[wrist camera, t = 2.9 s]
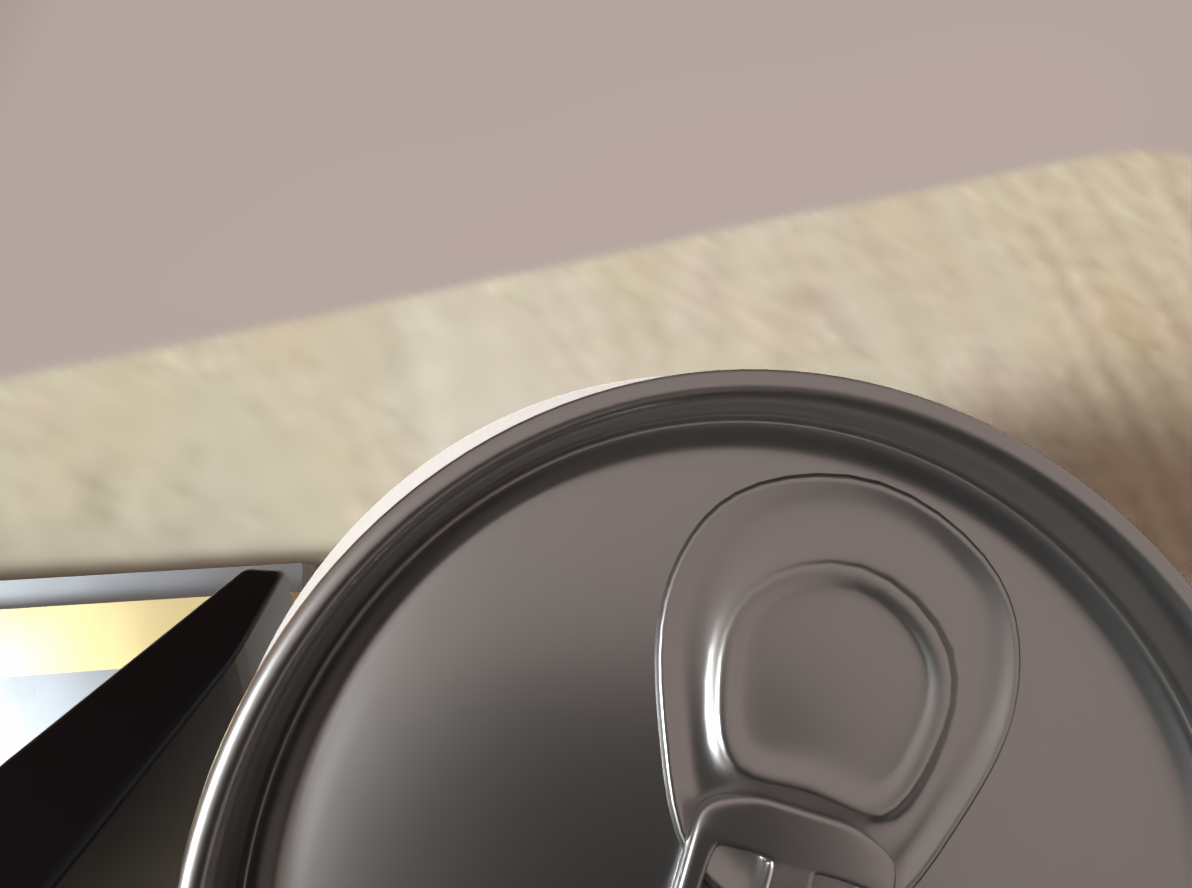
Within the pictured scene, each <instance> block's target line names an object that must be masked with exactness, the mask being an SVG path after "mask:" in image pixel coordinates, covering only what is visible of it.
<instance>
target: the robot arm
mask: <svg viewBox="0 0 1192 888" xmlns="http://www.w3.org/2000/svg"><path fill="white" fill-rule="evenodd" d="M292 605H293V603H292V597H291V591H290V584H289V579H288V577H287V575H286V573H285V572H284V571H281V570H275V569H258V568H250V569H246V570H244V571H242V572H241V573H239V574H238V575H237V576H236V577H234V578H233V579H232V580H231V581H229V582H228V583H227V584H226V585H224V586H223V587H222V588H221V589H219V590H218V591H217V592H216V593H214V594H213V595H212V596H211V597H209V598H208V599H207V600H206V601H204V602H203V603H202V604H201V605H200V606H198V607H197V608H196V609H195V610H193V611H192V612H191V613H190V614H188V615H187V616H186V617H185V618H183V619H182V620H181V621H180V622H178V623H177V624H176V625H175V626H173V627H172V628H171V629H170V630H168V631H167V632H166V633H165V634H163V635H162V636H161V637H160V638H158V639H157V640H156V641H155V642H153V643H152V644H151V645H150V646H149V647H147V648H146V649H145V650H144V651H142V652H141V653H140V654H139V655H137V656H136V657H135V658H134V659H132V660H131V661H130V662H129V663H127V664H126V665H125V666H124V667H122V668H121V669H120V670H119V671H117V672H116V673H115V674H114V675H112V676H111V677H110V678H109V679H107V680H106V681H105V682H104V683H102V684H101V685H100V686H99V687H97V688H96V689H95V690H94V691H93V692H91V693H90V694H89V695H88V696H86V697H85V698H84V699H83V700H81V701H80V702H79V703H78V704H76V705H75V706H74V707H73V708H71V709H70V710H69V711H68V712H66V713H65V714H64V715H63V716H61V717H60V718H59V719H58V720H56V721H55V722H54V723H53V724H51V725H50V726H49V727H48V728H46V729H45V730H44V731H43V732H42V733H40V734H39V735H38V736H37V737H35V738H34V739H33V740H32V741H30V742H29V743H28V744H27V745H25V746H24V747H23V748H22V749H20V750H19V751H18V752H17V753H15V754H14V755H13V756H12V757H10V758H9V759H8V760H7V761H5V762H4V763H3V764H2V765H0V888H176V886H177V881H178V876H179V872H180V867H181V863H182V859H183V855H184V851H185V847H186V843H187V839H188V835H189V832H190V828H191V825H192V822H193V819H194V815H195V812H196V809H197V806H198V802H199V799H200V797H201V794H202V791H203V788H204V785H205V783H206V780H207V777H208V774H209V771H210V769H211V766H212V764H213V761H214V759H215V757H216V754H217V752H218V749H219V747H220V744H221V742H222V740H223V737H224V735H225V733H226V731H227V729H228V727H229V725H230V722H231V720H232V718H233V716H234V714H235V712H236V710H237V708H238V706H239V704H240V702H241V700H242V698H243V696H244V694H245V692H246V690H247V688H248V687H249V685H250V683H251V681H252V679H253V678H254V676H255V674H256V672H257V670H258V668H259V666H260V663H261V661H262V659H263V657H264V655H265V653H266V651H267V649H268V647H269V645H270V643H271V641H272V640H273V638H274V636H275V634H276V632H277V630H278V629H279V627H280V625H281V623H282V622H283V620H284V618H285V616H286V615H287V613H288V611H289V610H290V608H291V607H292Z"/></svg>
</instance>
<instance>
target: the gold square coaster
mask: <svg viewBox="0 0 1192 888" xmlns="http://www.w3.org/2000/svg"><path fill="white" fill-rule="evenodd" d="M319 566H320V565H315V564H308V563H288V564H271V565H255V566H238V567H221V568H205V569H188V570H171V571H155V572H138V573H121V574H105V575H88V576H71V577H55V578H38V579H21V580H5V581H0V765H2V764H3V763H4V762H5V761H7V760H8V759H9V758H10V757H12V756H13V755H14V754H15V753H17V752H18V751H19V750H20V749H22V748H23V747H24V746H25V745H27V744H28V743H29V742H30V741H32V740H33V739H34V738H35V737H37V736H38V735H39V734H40V733H42V732H43V731H44V730H45V729H46V728H48V727H49V726H50V725H51V724H53V723H54V722H55V721H56V720H58V719H59V718H60V717H61V716H63V715H64V714H65V713H66V712H68V711H69V710H70V709H71V708H73V707H74V706H75V705H76V704H78V703H79V702H80V701H81V700H83V699H84V698H85V697H86V696H88V695H89V694H90V693H91V692H93V691H94V690H95V689H96V688H97V687H99V686H100V685H101V684H102V683H104V682H105V681H106V680H107V679H109V678H110V677H111V676H112V675H114V674H115V673H116V672H117V671H119V670H120V669H121V668H122V667H124V666H125V665H126V664H127V663H129V662H130V661H131V660H132V659H134V658H135V657H136V656H137V655H139V654H140V653H141V652H142V651H144V650H145V649H146V648H147V647H149V646H150V645H151V644H152V643H153V642H155V641H156V640H157V639H158V638H160V637H161V636H162V635H163V634H165V633H166V632H167V631H168V630H170V629H171V628H172V627H173V626H175V625H176V624H177V623H178V622H180V621H181V620H182V619H183V618H185V617H186V616H187V615H188V614H190V613H191V612H192V611H193V610H195V609H196V608H197V607H198V606H200V605H201V604H202V603H203V602H204V601H206V600H207V599H208V598H209V597H211V596H212V595H213V594H214V593H216V592H217V591H218V590H219V589H221V588H222V587H223V586H224V585H226V584H227V583H228V582H229V581H231V580H232V579H233V578H234V577H236V576H237V575H238V574H239V573H241V572H242V571H244V570H246V569H250V568H258V569H275V570H281V571H284V572H285V573H286V575H287V577H288V579H289V584H290V591H291V597H292V603H293V604H294V602H295V600H296V599H297V597H298V596H299V594H300V593H301V591H302V590H303V588H304V587H305V586H306V584H307V583H308V581H309V580H310V579H311V577H312V576H313V574H314V573H315V571H316V570H317V569H318V568H319Z"/></svg>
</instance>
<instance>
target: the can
mask: <svg viewBox="0 0 1192 888" xmlns="http://www.w3.org/2000/svg"><path fill="white" fill-rule="evenodd" d="M176 888H1192V587H1191V586H1190V584H1189V583H1188V582H1187V581H1186V580H1185V579H1184V577H1183V576H1182V575H1181V574H1180V573H1179V571H1178V570H1177V569H1176V568H1175V567H1174V566H1173V565H1172V564H1171V563H1170V561H1169V560H1168V559H1167V558H1166V557H1165V556H1164V555H1163V554H1162V553H1161V552H1160V551H1159V550H1158V548H1157V547H1156V546H1155V545H1154V544H1153V543H1152V542H1151V541H1150V540H1149V539H1148V538H1146V537H1145V536H1144V535H1143V534H1142V533H1141V532H1140V531H1139V530H1138V529H1137V528H1136V527H1135V526H1134V525H1133V524H1132V523H1131V522H1130V521H1129V520H1128V519H1126V518H1125V517H1124V516H1123V515H1122V514H1121V513H1120V512H1119V511H1118V510H1116V509H1115V508H1114V507H1113V506H1112V505H1110V504H1109V503H1108V502H1107V501H1106V500H1104V499H1103V498H1102V497H1101V496H1100V495H1098V494H1097V493H1096V492H1095V491H1093V490H1092V489H1091V488H1089V487H1088V486H1087V485H1085V484H1084V483H1083V482H1081V481H1080V480H1079V479H1078V478H1076V477H1075V476H1073V475H1072V474H1070V473H1069V472H1068V471H1066V470H1065V469H1063V468H1062V467H1060V466H1059V465H1057V464H1056V463H1055V462H1053V461H1051V460H1050V459H1048V458H1047V457H1045V456H1043V455H1042V454H1040V453H1039V452H1037V451H1036V450H1034V449H1032V448H1031V447H1029V446H1027V445H1025V444H1024V443H1022V442H1020V441H1018V440H1017V439H1015V438H1013V437H1011V436H1010V435H1008V434H1006V433H1004V432H1002V431H1000V430H998V429H996V428H994V427H992V426H990V425H988V424H986V423H984V422H982V421H979V420H977V419H975V418H973V417H971V416H969V415H966V414H964V413H962V412H959V411H957V410H954V409H952V408H949V407H947V406H944V405H942V404H939V403H936V402H934V401H931V400H928V399H925V398H922V397H919V396H916V395H913V394H910V393H906V392H903V391H900V390H896V389H893V388H889V387H885V386H881V385H877V384H873V383H869V382H865V381H859V380H854V379H849V378H844V377H838V376H832V375H825V374H818V373H809V372H799V371H786V370H767V369H738V370H716V371H705V372H694V373H686V374H679V375H672V376H656V377H646V378H637V379H630V380H623V381H617V382H612V383H607V384H602V385H597V386H593V387H589V388H585V389H580V390H576V391H573V392H570V393H566V394H563V395H560V396H556V397H553V398H550V399H548V400H545V401H542V402H539V403H536V404H533V405H531V406H529V407H526V408H524V409H521V410H519V411H516V412H514V413H512V414H509V415H507V416H505V417H503V418H501V419H499V420H496V421H494V422H492V423H490V424H488V425H487V426H485V427H483V428H481V429H479V430H477V431H475V432H473V433H471V434H470V435H468V436H466V437H465V438H463V439H461V440H459V441H458V442H456V443H454V444H453V445H451V446H450V447H448V448H447V449H445V450H444V451H442V452H440V453H439V454H437V455H436V456H434V457H433V458H432V459H430V460H429V461H427V462H426V463H425V464H423V465H422V466H421V467H419V468H418V469H416V470H415V471H414V472H413V473H411V474H410V475H409V476H408V477H406V478H405V479H404V480H402V481H401V482H400V483H399V484H398V485H396V486H395V487H394V488H393V489H392V490H391V491H390V492H388V493H387V494H386V495H385V496H384V497H383V498H382V499H380V500H379V501H378V502H377V503H376V504H375V505H374V506H373V507H372V508H371V509H370V510H369V511H368V512H367V513H366V514H365V515H364V516H363V517H362V518H361V519H360V520H359V521H358V522H357V523H356V524H355V525H354V526H353V527H352V528H351V529H350V530H349V532H348V533H347V534H346V535H345V536H344V537H343V538H342V539H341V541H340V542H339V543H338V544H337V545H336V546H335V548H334V549H333V550H332V551H331V552H330V554H329V555H328V556H327V557H326V559H325V560H324V561H323V562H322V564H321V565H320V566H319V568H318V569H317V570H316V571H315V573H314V574H313V576H312V577H311V579H310V580H309V581H308V583H307V584H306V586H305V587H304V588H303V590H302V591H301V593H300V594H299V596H298V597H297V599H296V600H295V602H294V604H293V605H292V607H291V608H290V610H289V611H288V613H287V615H286V616H285V618H284V620H283V622H282V623H281V625H280V627H279V629H278V630H277V632H276V634H275V636H274V638H273V640H272V641H271V643H270V645H269V647H268V649H267V651H266V653H265V655H264V657H263V659H262V661H261V663H260V666H259V668H258V670H257V672H256V674H255V676H254V678H253V679H252V681H251V683H250V685H249V687H248V688H247V690H246V692H245V694H244V696H243V698H242V700H241V702H240V704H239V706H238V708H237V710H236V712H235V714H234V716H233V718H232V720H231V722H230V725H229V727H228V729H227V731H226V733H225V735H224V737H223V740H222V742H221V744H220V747H219V749H218V752H217V754H216V757H215V759H214V761H213V764H212V766H211V769H210V771H209V774H208V777H207V780H206V783H205V785H204V788H203V791H202V794H201V797H200V799H199V802H198V806H197V809H196V812H195V815H194V819H193V822H192V825H191V828H190V832H189V835H188V839H187V843H186V847H185V851H184V855H183V859H182V863H181V867H180V872H179V876H178V881H177V886H176Z"/></svg>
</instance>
